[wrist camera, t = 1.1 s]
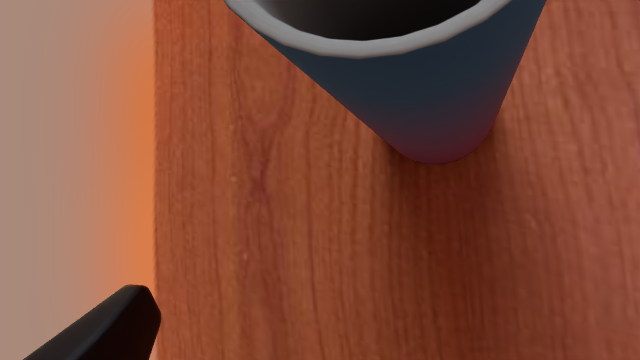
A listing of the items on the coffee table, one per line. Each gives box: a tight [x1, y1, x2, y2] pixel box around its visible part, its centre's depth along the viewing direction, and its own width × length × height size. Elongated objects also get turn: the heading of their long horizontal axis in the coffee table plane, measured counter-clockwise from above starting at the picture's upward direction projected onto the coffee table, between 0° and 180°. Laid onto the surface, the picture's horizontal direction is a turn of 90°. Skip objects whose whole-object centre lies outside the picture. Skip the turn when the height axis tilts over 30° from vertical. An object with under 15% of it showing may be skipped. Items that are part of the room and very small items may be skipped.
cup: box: [224, 0, 546, 164], centre depth 16 cm, size 7×7×15 cm
